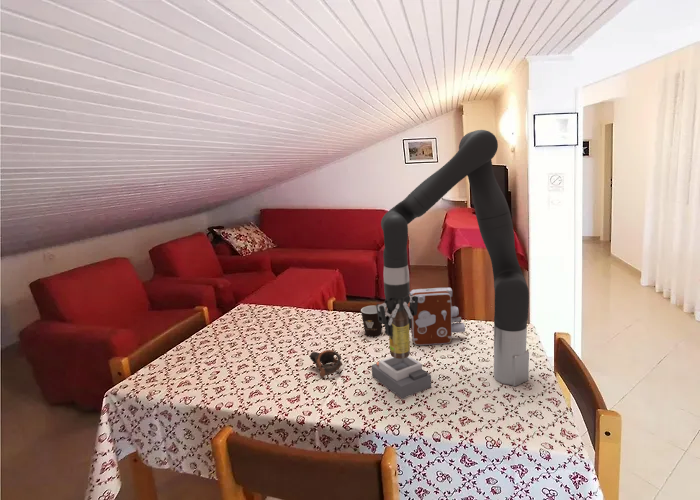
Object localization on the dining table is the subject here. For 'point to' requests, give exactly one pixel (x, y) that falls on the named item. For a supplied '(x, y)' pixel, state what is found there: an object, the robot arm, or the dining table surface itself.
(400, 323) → the sauce bottle
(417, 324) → the cine camera
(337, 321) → the dining table surface
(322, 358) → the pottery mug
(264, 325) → the dining table surface
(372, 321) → the coffee mug
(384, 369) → the retro computer monitor
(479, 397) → the dining table surface
